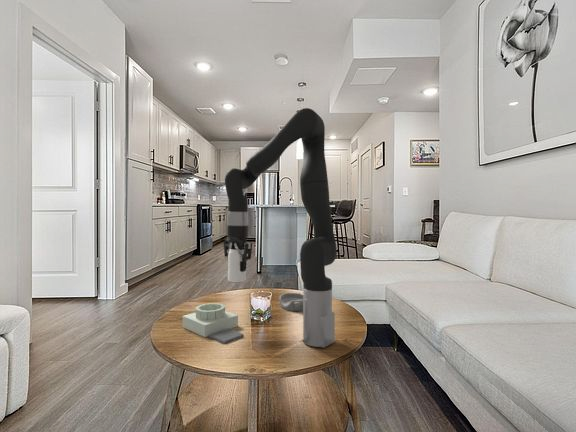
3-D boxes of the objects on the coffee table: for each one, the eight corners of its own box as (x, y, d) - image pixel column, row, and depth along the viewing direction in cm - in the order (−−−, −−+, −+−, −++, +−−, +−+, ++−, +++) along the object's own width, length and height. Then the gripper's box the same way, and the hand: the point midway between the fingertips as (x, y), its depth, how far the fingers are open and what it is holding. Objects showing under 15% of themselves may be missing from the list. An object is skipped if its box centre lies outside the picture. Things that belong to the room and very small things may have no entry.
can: (247, 279, 117) (248, 247, 117) (243, 283, 111) (243, 249, 111) (231, 278, 118) (231, 247, 118) (225, 282, 112) (226, 249, 111)
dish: (301, 314, 128) (301, 302, 128) (272, 309, 135) (273, 297, 135) (316, 305, 140) (316, 294, 140) (289, 301, 147) (289, 290, 147)
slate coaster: (243, 336, 104) (243, 334, 104) (223, 343, 98) (223, 341, 98) (228, 330, 109) (228, 328, 109) (209, 337, 103) (209, 334, 103)
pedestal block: (238, 326, 114) (238, 306, 114) (204, 337, 103) (204, 316, 103) (215, 317, 123) (215, 299, 123) (182, 327, 112) (182, 307, 112)
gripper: (258, 224, 112) (257, 271, 112) (233, 223, 122) (233, 266, 122) (242, 225, 106) (241, 274, 107) (217, 223, 116) (216, 268, 117)
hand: (237, 269), depth 114 cm, fingers closed on can, 6 cm apart
